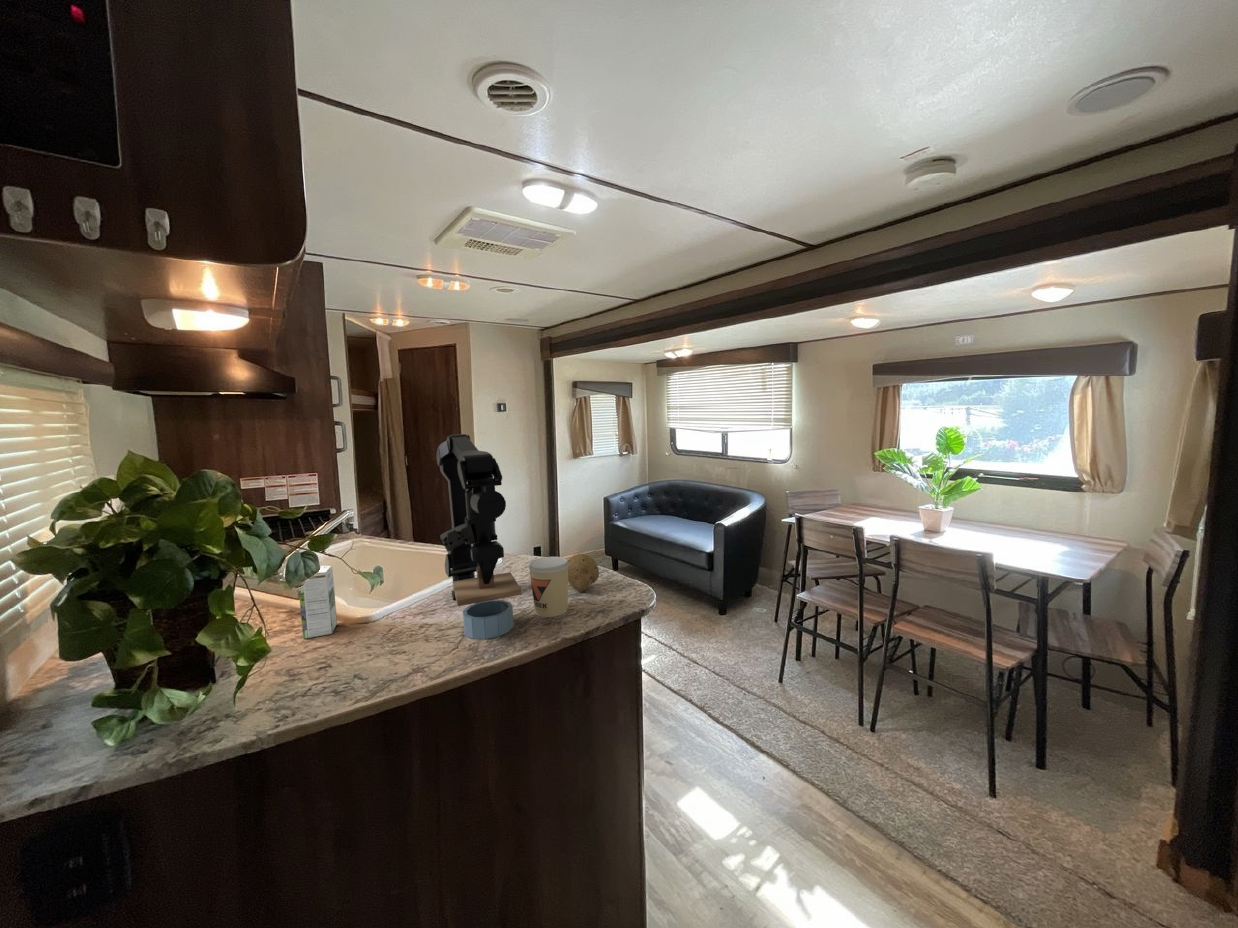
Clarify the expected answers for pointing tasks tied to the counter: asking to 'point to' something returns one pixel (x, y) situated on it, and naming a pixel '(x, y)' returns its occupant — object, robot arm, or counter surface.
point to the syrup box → (318, 604)
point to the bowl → (488, 619)
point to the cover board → (485, 588)
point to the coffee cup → (549, 585)
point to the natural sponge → (582, 571)
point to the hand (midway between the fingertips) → (485, 581)
